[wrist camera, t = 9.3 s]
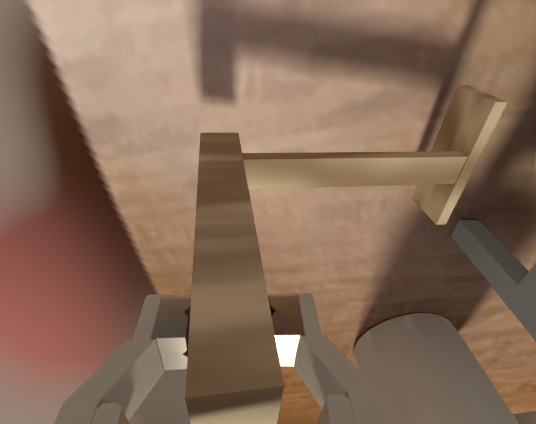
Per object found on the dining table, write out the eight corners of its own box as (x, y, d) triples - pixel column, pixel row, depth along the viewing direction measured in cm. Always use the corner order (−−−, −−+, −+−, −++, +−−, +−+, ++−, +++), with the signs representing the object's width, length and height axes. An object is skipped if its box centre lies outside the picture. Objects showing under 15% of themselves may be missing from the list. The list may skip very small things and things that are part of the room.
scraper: (196, 78, 18) (167, 313, 6) (468, 85, 21) (864, 254, 8) (205, 205, 24) (200, 473, 11) (421, 198, 26) (617, 405, 14)
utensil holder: (452, 293, 37) (581, 486, 23) (466, 350, 45) (567, 518, 31) (334, 332, 40) (384, 522, 26) (367, 379, 49) (418, 543, 34)
